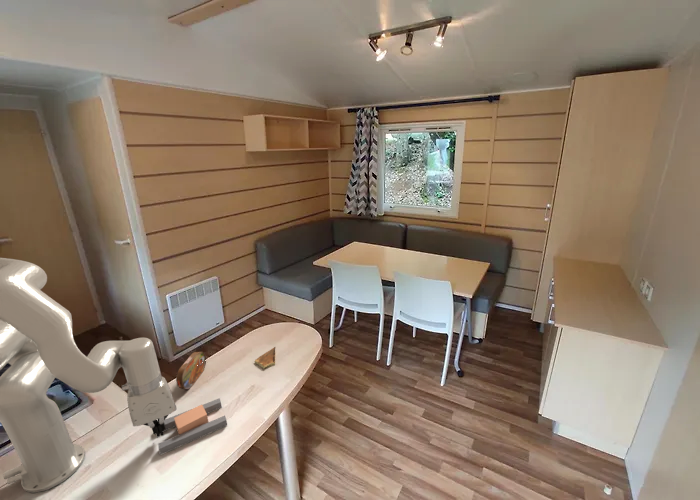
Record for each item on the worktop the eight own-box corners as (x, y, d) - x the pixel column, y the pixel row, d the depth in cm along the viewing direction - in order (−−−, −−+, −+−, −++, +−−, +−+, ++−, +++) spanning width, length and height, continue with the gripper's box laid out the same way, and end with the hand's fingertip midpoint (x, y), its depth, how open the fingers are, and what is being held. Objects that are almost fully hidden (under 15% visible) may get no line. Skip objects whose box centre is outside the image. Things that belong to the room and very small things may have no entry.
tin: (186, 394, 110) (181, 374, 107) (177, 394, 110) (172, 374, 107) (208, 365, 124) (204, 347, 121) (200, 364, 124) (196, 346, 121)
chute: (160, 454, 89) (158, 449, 88) (158, 428, 97) (156, 422, 96) (227, 425, 98) (226, 419, 97) (220, 403, 106) (219, 398, 105)
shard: (275, 349, 133) (275, 345, 133) (288, 356, 129) (287, 352, 128) (254, 363, 125) (253, 359, 125) (266, 371, 121) (266, 367, 120)
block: (181, 440, 93) (178, 428, 92) (176, 429, 97) (174, 417, 95) (209, 425, 98) (207, 414, 96) (204, 415, 102) (202, 404, 100)
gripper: (111, 402, 79) (129, 456, 85) (178, 379, 87) (190, 430, 93) (113, 384, 85) (129, 435, 91) (175, 364, 93) (187, 412, 99)
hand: (160, 432), depth 92 cm, fingers closed
